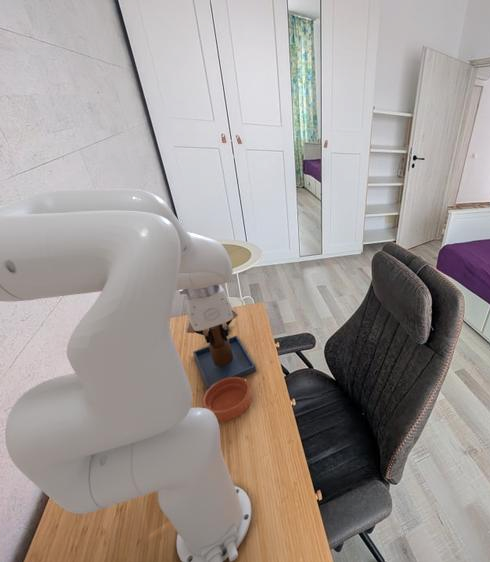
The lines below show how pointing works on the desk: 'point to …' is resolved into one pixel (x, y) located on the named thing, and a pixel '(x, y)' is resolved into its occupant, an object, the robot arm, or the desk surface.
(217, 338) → the bottle
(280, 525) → the desk surface
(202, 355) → the tray
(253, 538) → the desk surface
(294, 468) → the desk surface
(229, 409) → the bowl
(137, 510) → the desk surface
